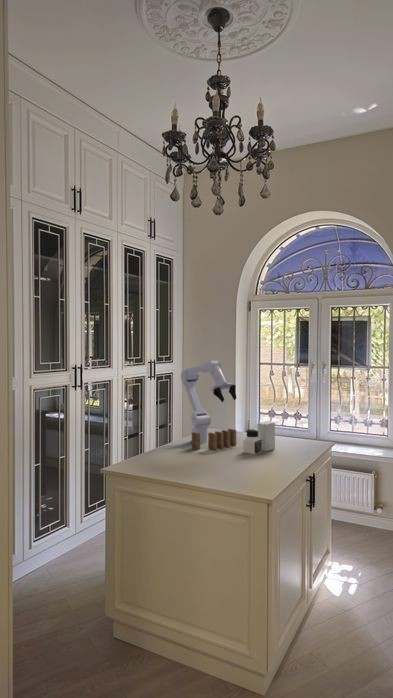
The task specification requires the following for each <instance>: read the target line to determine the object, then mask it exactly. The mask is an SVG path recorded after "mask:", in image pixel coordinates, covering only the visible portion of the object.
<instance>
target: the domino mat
mask: <svg viewBox="0 0 393 698" xmlns="http://www.w3.org/2000/svg"><path fill="white" fill-rule="evenodd" d="M237 447H241V445H239V444H236V446H231V445H230V448H227V447H224V449H218V448H217V451H213V450H209V449H208V448H204V449H199V450H197V453H203V454H205V455H207V454H212V453H216V452H221V451H224V450H225V451H226V450H229V449H234V448H237Z"/></svg>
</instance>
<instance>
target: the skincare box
mask: <svg viewBox="0 0 393 698" xmlns="http://www.w3.org/2000/svg"><path fill="white" fill-rule="evenodd" d="M257 431H258V438H260V439H261V451H263V452H269V451H272V450H275V449H276V422H273V421H270V420H265V421H260V422H257Z"/></svg>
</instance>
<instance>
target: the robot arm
mask: <svg viewBox="0 0 393 698" xmlns="http://www.w3.org/2000/svg"><path fill="white" fill-rule="evenodd" d="M221 365H222V364H221V363H220V361H219V360H209V361H203V363H201V364H200V365H198V366H193V367H188V368H185V369H183V370H182V371H181V373H180V379H181V381H182V382H181V383H182V384H183V386H184V387H185V391H186V395H187V397H188V400H189V402H190V404H191V405H190V406H191V407H192V411H193V413H192V414H191V424H192V428H191V433H192V432H196V433H200V445H203V444H208V433H209V431H208V429H209V428H208V427H210V424H211V422H212V420H211V416H210V415H209V413H208V411H206V410H204V409H203V406H202V404H201V402H200V398H199V396H198V393H197V391H196V388H195V386H196V385H197V383H198V381H199V378H200V373H203V374H207V373H209V374H210V375H211V377H212V379H213V381H214V383H215V385H214V386H212V385H211V386H210V391H211V392H212V394H213V395H214V396H215V397H216V398H218V399H219V401H220V402H221V403H224V401H225V397H224V396H223V393H222V391H223V390H227V389H228V393H229V394H230V395H231V397H232V399H233V400H234V401H235V400H237V394H236V392H237V391H236V386H237V385H236V383H234V382H233V383H232V382H227V380H226V377H225V375H224V374H223V372H222V370H221ZM190 442H191V443H192V439H191V440H190Z"/></svg>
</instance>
